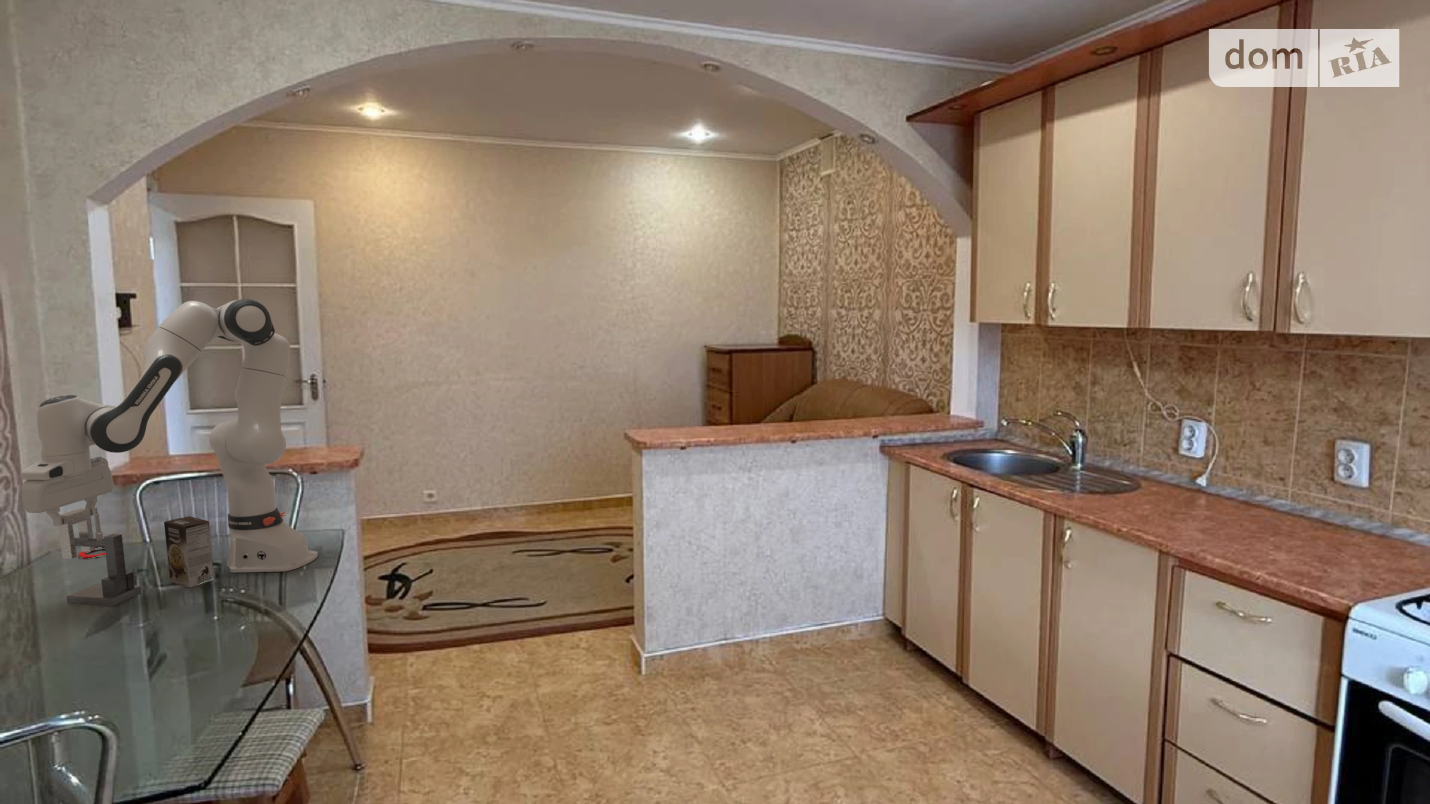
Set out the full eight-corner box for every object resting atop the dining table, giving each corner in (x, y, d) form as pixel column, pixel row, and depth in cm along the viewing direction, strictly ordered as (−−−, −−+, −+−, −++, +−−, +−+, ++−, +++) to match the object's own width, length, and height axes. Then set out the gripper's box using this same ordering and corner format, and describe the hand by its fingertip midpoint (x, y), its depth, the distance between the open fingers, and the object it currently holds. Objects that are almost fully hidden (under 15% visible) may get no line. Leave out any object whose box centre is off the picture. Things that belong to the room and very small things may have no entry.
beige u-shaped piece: (94, 550, 190) (89, 508, 188) (72, 558, 184) (66, 515, 182) (85, 549, 190) (80, 508, 188) (62, 558, 184) (56, 515, 182)
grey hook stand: (141, 593, 191) (134, 530, 188) (112, 606, 183) (105, 541, 181) (86, 590, 192) (79, 528, 190) (56, 603, 185) (48, 538, 182)
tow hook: (113, 557, 218) (119, 546, 226) (107, 514, 215) (114, 504, 223) (75, 562, 214) (83, 551, 222) (68, 518, 211) (77, 508, 219)
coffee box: (168, 582, 198) (162, 521, 196) (195, 574, 204) (189, 515, 202) (188, 588, 194) (182, 526, 192) (215, 580, 200) (209, 520, 197)
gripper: (94, 454, 194) (101, 507, 196) (12, 474, 174) (21, 533, 176) (117, 455, 193) (124, 508, 195) (37, 474, 173) (45, 534, 175)
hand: (74, 520), depth 186 cm, fingers closed on beige u-shaped piece, 6 cm apart
